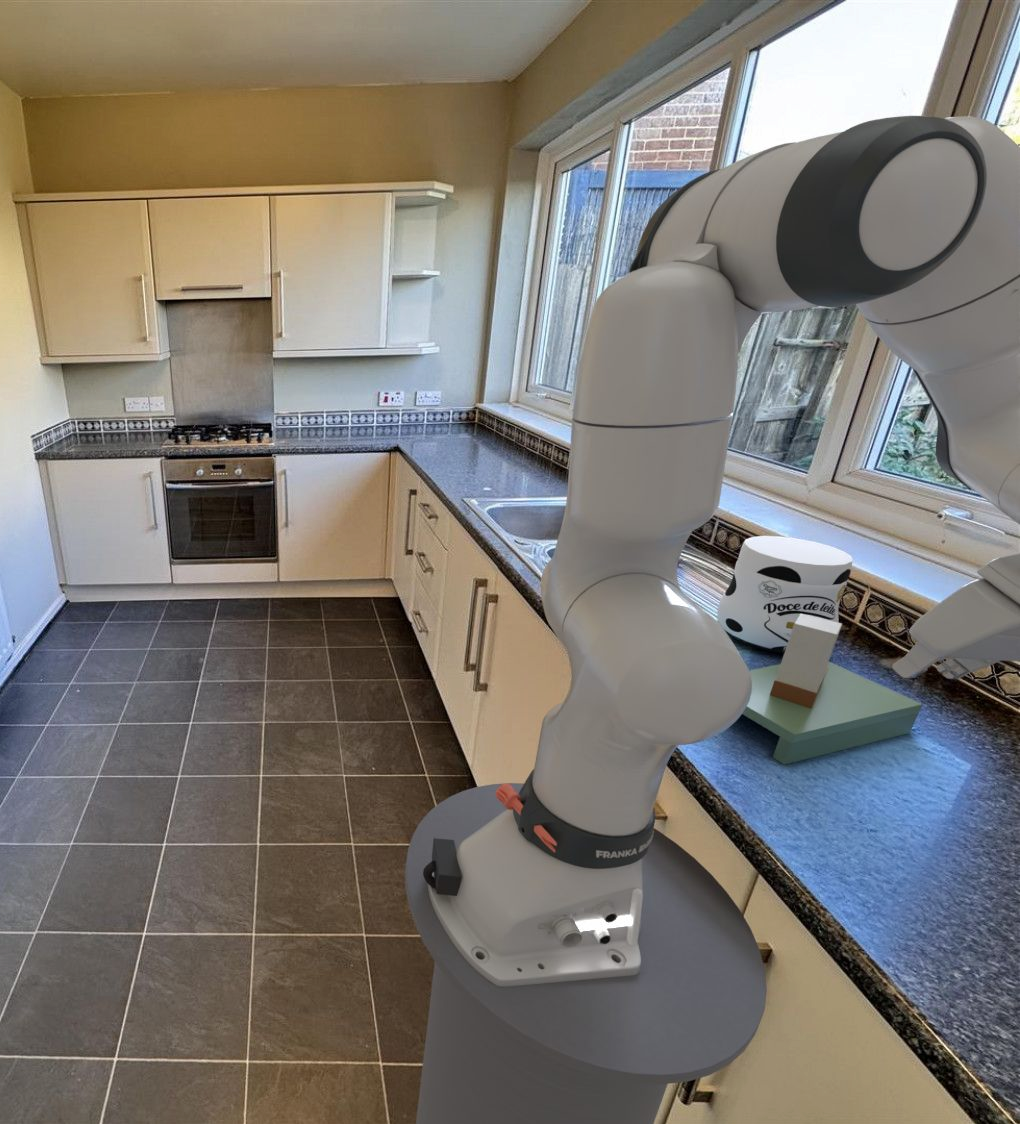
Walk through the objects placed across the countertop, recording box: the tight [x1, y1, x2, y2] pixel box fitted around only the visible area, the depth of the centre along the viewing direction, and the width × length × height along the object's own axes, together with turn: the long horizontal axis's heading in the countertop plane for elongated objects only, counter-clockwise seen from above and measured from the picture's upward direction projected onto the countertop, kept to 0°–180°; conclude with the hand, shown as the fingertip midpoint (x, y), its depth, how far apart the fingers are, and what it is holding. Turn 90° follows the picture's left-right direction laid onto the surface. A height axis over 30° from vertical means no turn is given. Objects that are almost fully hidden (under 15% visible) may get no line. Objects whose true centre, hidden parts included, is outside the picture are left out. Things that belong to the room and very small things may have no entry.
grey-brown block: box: [770, 614, 843, 709], centre depth 89 cm, size 10×5×12 cm, turn 133°
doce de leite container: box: [716, 535, 853, 655], centre depth 112 cm, size 17×17×18 cm
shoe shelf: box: [742, 661, 923, 766], centre depth 92 cm, size 24×14×5 cm, turn 105°
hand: (923, 673), depth 68 cm, fingers open, 8 cm apart
